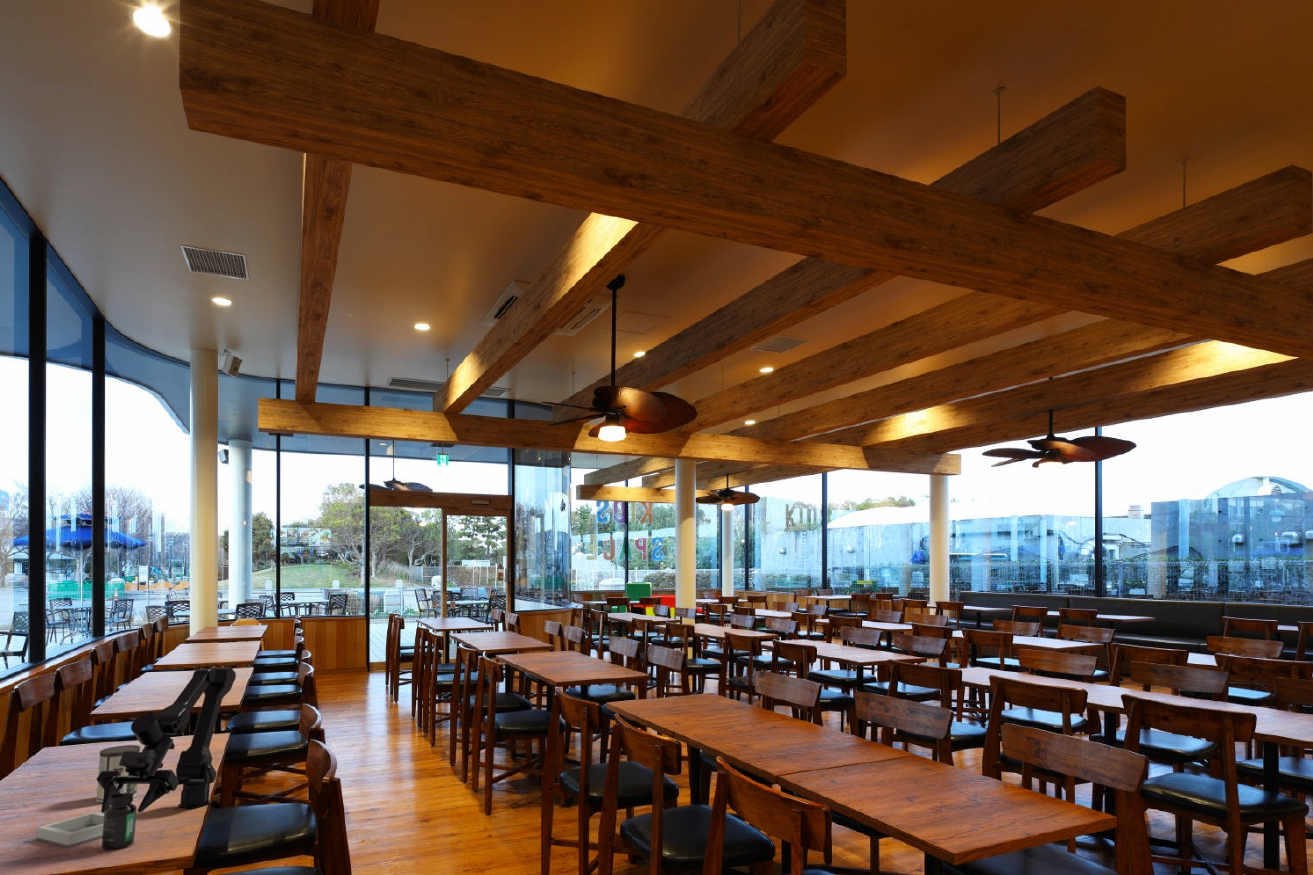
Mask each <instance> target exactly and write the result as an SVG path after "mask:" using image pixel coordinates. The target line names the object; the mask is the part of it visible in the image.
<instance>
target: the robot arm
mask: <svg viewBox="0 0 1313 875" xmlns="http://www.w3.org/2000/svg"><path fill="white" fill-rule="evenodd" d="M236 678H237V673H236V671H235V670H234V669H233V667H231V666H226V667H225V666H224V667H223V666H221V667H220V666H219V667H218V666H217V667H216V666H215V667H214V666H213V667H211V666H210V667H209V668H198V669H196V670H195V671H194V672H193V674H192V678H191V679H190V680H189V682H188V683H187V684H186V686H185V687H184V689H182V691H181V692H180V694H179V695H178V697H177V698H176V699H175V701H174V702H173V703H172V704H170V705H168V706H165V707H164V708H163V709H162V710H161V711H160V712H159V713H158V714H157V713H156V711H155V710H152V711H146V712H145V714H143V715H140V716H139V717H137V718H136V719H135V720H134V721H133V722H131V725H130V730H131V731H132V733H133V735H134V736H135V737H136V739H137V741H138V742H139V744H140V745H142V746H144V747H143V748H142V750H141V752H140V751H139V752H123V754H122V757H121V760H120V763H119V766H124V767H126V768H125V771H126V772H128V773H129V774H128V776H121V774H120V773H119V771H118V770H104V771H101V773H100V774H99V775H97V777H96V781H97V783H98V782H99V784H100V785H101V786H102V788H103V789H104V797H103V803H101V810H100V811H101V813H105V811H106V810H107V809H108V808H109V807H111V805H109V803H110V797H111V796H113V795H115V794H120V791H119V790H120V789H122V787H123V785H124V784H137V785H148V786H149V787H148V789H147V791H146V793H145V795H144V797H142V798H143V799H142V800H141V802H140V804H139V806H138V807H137V812H138V813H142V812H144V811H145V810H147V808H149V806H151V805H152V804H154V802H156V801H157V800H159V799H160V798H162V797H163V796H164V795H167V794H169V793H170V792H174V791H176V789H178V788H177V787H178V786H179V785H180V786H181V785H182V790H181V791H180V792H181V793H180V803H179V804H177V807H179V808H184V809H188V810H193V809H197V808H201V807H203V806H207V805H210V804H212V803H213V801H212V800H210V787H211V784H213V783H214V782H215V781H216V778H217V773H218V772H217V770H216V769H215V768H214V766H213V765H212V762H213V755H212V753H211V750H210V747H211V746H210V745H211V742H212V738H213V734H214V731H215V728H216V724H217V720H218V717H219V712H220V710H221V705H222V701H223V699H224V698H225V697H226V695H228V693H229V692H230V691H231V690H232V688H233V686H234V682H235V681H236ZM203 694H204V699H203V701H202V703H201V704H202V705H201V709H200V712H199V716H198V719H197V722H196V726H195V729H194V733H193V736H192V741H191V744H190V746H189V747H188V748H187V749H186V750H182V751H181V752H180V755H179V760H178V762H177V763H176V768H175V772H174V770H173V769H163V767H164V763H163V761H164V758H165V757H166V755H167V753H168V752H169V751H170V750H175V749H176V748H175V747H176V746H175V743H174V738H171V736H170V735H181V734H183V732H185V729H186V728H187V726H188V724H189V722H190V713H191V711H192V710H193V708H194V707H195V705H196V703H198V701H199V699H200V698H201V697H202V695H203ZM209 801H211V803H210V802H209Z"/></svg>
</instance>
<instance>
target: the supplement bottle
mask: <svg viewBox="0 0 1313 875" xmlns="http://www.w3.org/2000/svg"><path fill="white" fill-rule="evenodd" d="M133 802H134V797H133V793H120V794H115V795H113V796H111V797H110V803H109V805H111V806H110V807H109V808H108V809H107V810H106V811H105V813H104V822H103V834H102V838H101V849H102V850H104V851H117V850H122V849H125V848H128V846H129V847H130V845H131V846H132V845H133V844H134V842H135V835H136V824H137V812H138V807H137V806H136V805H135V804H134V803H133Z"/></svg>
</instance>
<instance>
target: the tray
mask: <svg viewBox="0 0 1313 875" xmlns="http://www.w3.org/2000/svg"><path fill="white" fill-rule="evenodd" d="M103 822H104V813H102V812H100V811H99V812H97V811H92V812H89V813H85V814H81V815H77V816H74V817H70V818H66V819H63V820H59V821H55V822H51V823H49V824H45V825H41V826H37V829H36V838H35V839H36V841H39V842H43V843H46V844H47V843H48V844H51V843H53V845H55V844H56V846H61V847H63V848H72V846H73V847H75V846H80V845H83V844H86V843H89V842H92V841H96V840H98V839H102V834H103Z"/></svg>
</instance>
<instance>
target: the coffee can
mask: <svg viewBox="0 0 1313 875" xmlns="http://www.w3.org/2000/svg"><path fill="white" fill-rule="evenodd" d="M140 751H141V746H140V745H136V744H131V745H129V744H128V745H126V744H125V745H118V746H113V747H112V746H111V747H108V748H104V749H100V751H99V762H98V775H99V774H100V773H101V771H104V770H118V771H119V773H120V774H121V776H128V774H129V773H128V772H126V771H125V768H126V767H124V766H119V763H120V760H121V757H122V754H123V752H140ZM98 775H97V776H98ZM137 790H138V784H124V785H123V787H122V789H120V790H119V791H120V793H133V798H135V797H136V796H137ZM103 797H104V789H103V788H102V786H101V785H100V784H99V782H98V781H97V788H96V799H95V802H97V803H99V802H103Z"/></svg>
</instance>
